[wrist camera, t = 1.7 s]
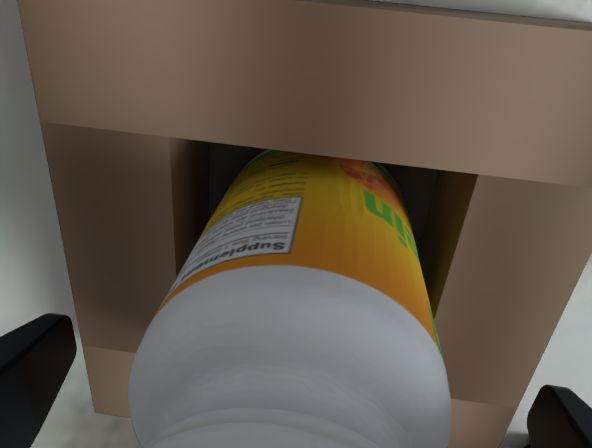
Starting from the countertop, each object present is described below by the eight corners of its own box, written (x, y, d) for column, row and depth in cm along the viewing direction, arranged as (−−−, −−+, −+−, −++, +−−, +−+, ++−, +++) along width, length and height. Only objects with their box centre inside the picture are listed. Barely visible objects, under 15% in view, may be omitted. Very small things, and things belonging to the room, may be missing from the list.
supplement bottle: (433, 261, 14) (565, 718, 5) (277, 314, 15) (188, 729, 7) (363, 99, 12) (396, 423, 3) (191, 179, 13) (-86, 536, 5)
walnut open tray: (605, 24, 10) (693, 42, 8) (464, 391, 16) (486, 471, 14) (93, -29, 11) (11, -30, 8) (134, 344, 17) (94, 412, 14)
